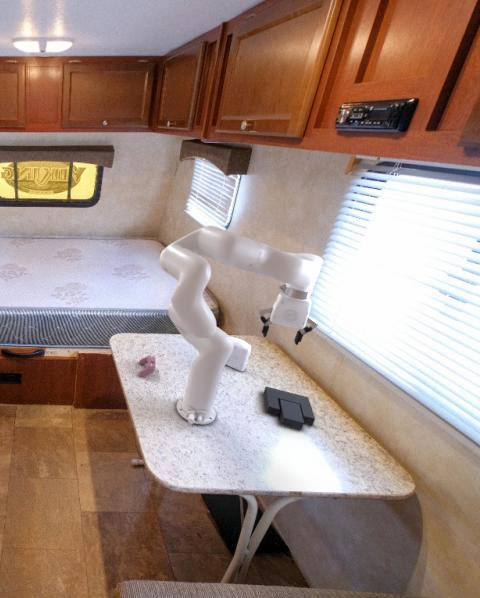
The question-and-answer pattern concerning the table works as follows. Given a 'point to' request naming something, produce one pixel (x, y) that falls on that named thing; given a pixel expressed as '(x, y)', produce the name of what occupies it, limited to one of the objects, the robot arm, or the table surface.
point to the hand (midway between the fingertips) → (279, 339)
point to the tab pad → (290, 414)
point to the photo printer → (239, 354)
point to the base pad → (275, 395)
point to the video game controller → (148, 365)
